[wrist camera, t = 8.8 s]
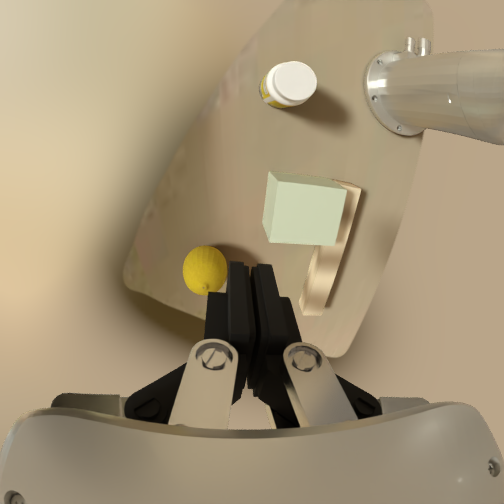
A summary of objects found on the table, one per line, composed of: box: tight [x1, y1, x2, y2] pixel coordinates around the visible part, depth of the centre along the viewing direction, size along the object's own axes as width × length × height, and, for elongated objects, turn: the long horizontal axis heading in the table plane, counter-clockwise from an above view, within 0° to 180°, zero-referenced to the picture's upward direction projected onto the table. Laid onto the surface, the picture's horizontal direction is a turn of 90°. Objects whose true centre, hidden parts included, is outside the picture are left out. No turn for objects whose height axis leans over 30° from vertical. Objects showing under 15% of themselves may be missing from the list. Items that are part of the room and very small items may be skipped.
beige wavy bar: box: [299, 179, 361, 315], centre depth 37 cm, size 20×3×3 cm, turn 172°
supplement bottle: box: [259, 61, 317, 108], centre depth 24 cm, size 5×5×8 cm
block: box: [262, 171, 347, 246], centre depth 32 cm, size 7×8×6 cm
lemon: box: [183, 246, 227, 295], centre depth 34 cm, size 6×6×8 cm
